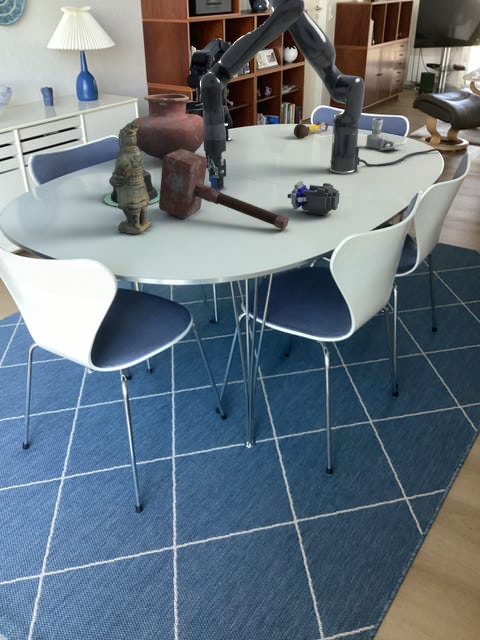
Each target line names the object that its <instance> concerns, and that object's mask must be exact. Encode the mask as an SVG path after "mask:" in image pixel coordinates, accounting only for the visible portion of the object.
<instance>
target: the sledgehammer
mask: <svg viewBox="0 0 480 640" xmlns="http://www.w3.org/2000/svg"><path fill="white" fill-rule="evenodd" d="M206 166H207V159H206V156H203V155H200V154H197V153H196V152H195V153H192V152H190V151H187V150H184V149H179V150H177V151H174V152H172V153H170V154H167V155H165V156H164V158H163V160H162V167H161V176H160V187H159V190H160V198H159V200H158V208H159V210H160V211H162V212H165V213H168V214H170V215H173V216H174V217H177V218H180V219H182V220H185V219H187V218H188V217H190V216H192V215H193V214H195V213H197V212H198V211H199V210H200V209H201V207H202V201H203V200H204V201H207V202H209V203H213V204H215V205H220V206H223V207H225V208H228V209H231V210H233V211H236V212H239V213H241V214H243V215H245V216H248V217H252V218H255V219H257V220H260V221H262V222H264V223H267V224H270V225H273V226H274V228H276V229H280V230H282V231H285V230H286V228H287V227H288V224H289V221H290V218H289V217H288V216H286V215H283V214H281V213H279V214H277V213H275V212H273V211H269V210H267V209H265V208H262V207H259V206H256V205H254V204H251V203H248V202H246V201H244V200H242V199H238V198H236V197H233V196H231V195H228V194H225V193H223V192H222V191H221V190H215V189H214V188H211V186H208V185H205V181H206V175H207V168H206Z"/></svg>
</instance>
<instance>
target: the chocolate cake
mask: <svg viewBox="0 0 480 640" xmlns="http://www.w3.org/2000/svg"><path fill="white" fill-rule="evenodd" d="M113 175H114V171H112V173H111V176H113ZM143 178H144V182H145V184H146V188H147V192H148V195H149V197H150V204H154V203H157V202H159V198H160V188H156V187H154V185H153V182H152V174H151V172H149V171H148V170H146V169H144V168H143ZM103 200H104V202H105V203H106V204H108V205H109V206H115V207H118V202H117V192H116V189H115V188H114V187H112V191H111V193H108V194H107V195H106V196H104V198H103ZM150 204H149V205H150Z"/></svg>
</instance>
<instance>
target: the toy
mask: <svg viewBox="0 0 480 640" xmlns="http://www.w3.org/2000/svg"><path fill="white" fill-rule="evenodd" d="M293 187H294V188H293V189H292V191H291V193H288V194H287V199H291V200H290V201H291V202H290V203H291V206H292V207H293V210H298V209H299V208H301V210H303V211H306V212H307V214H310V215H311V214H312V215H318V216H326V215H328V213H330V212H331V211H336V210H337V209H338V205H339V204H340V194H341V193H340V190H338V189H337V188H335V187H334V184H332V183H328V182H324V183H322V185H315V184H310V185H309V186H308V187H309V188H308V187H307V185H306V184H305V183H304V181H301V180H299V181H298V182H296V183H295V184H294V186H293Z"/></svg>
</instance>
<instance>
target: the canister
mask: <svg viewBox="0 0 480 640" xmlns="http://www.w3.org/2000/svg"><path fill="white" fill-rule="evenodd" d="M210 180H211V182H210V187H211V188H214V189H215V190H218V191H221V190H223V188H221V189H218V188H217V176H216V174H215V175H212V176H210Z"/></svg>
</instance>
